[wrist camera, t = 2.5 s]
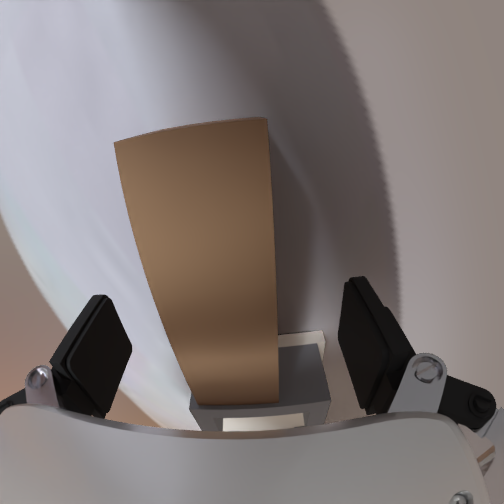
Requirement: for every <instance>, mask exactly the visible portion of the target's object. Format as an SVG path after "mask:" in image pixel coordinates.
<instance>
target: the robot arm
mask: <svg viewBox="0 0 504 504" xmlns="http://www.w3.org/2000/svg"><path fill="white" fill-rule="evenodd" d="M338 341H339V344H340V347H341V350H342V353H343V356H344V359H345V362H346V365H347V368H348V371H349V374H350V377H351V380H352V383H353V386H354V390H355V393H356V396H357V399H358V402H359V406H360V408H361V409H364V408H365V411H366V414H367V415H371V414H374V413H376V415H373V416H368V417H362V418H356V419H351V420H346V421H340V422H334V423H328V424H321V425H314V426H306V427H298V428H288V429H277V430H263V431H192V430H177V429H166V428H157V427H149V426H142V425H134V424H128V423H122V422H117V421H111V420H107V419H105V416H106V413H108V412H109V411H110V408H111V406H112V403H113V400H114V397H115V394H116V392H117V389H118V386H119V384H120V381H121V378H122V376H123V373H124V371H125V368H126V365H127V363H128V360H129V358H130V355H131V353H132V344H131V342H130V340H129V338H128V336H127V334H126V332H125V330H124V327H123V325H122V323H121V321H120V318H119V316H118V314H117V312H116V309H115V307H114V304H113V302H112V300H111V299H110V298H108V296H107V295H93V296H92V298H91V299H90V300H89V302H88V303H87V305H86V306H85V307H84V309H83V310H82V312H81V313H80V315H79V316H78V317H77V319H76V320H75V322H74V323H73V325H72V326H71V328H70V329H69V331H68V332H67V334H66V336H65V337H64V339H63V340H62V342H61V343H60V345H59V346H58V348H57V350H56V351H55V353H54V355H53V356H52V358H51V359H50V361H49V362H50V363H51V365H52V366H53V367H52V369H50V368H49V367H48V366H45V365H40V366H37V367H35V368H34V369H32V370H31V371H30V372H29V374H28V375H27V377H26V379H25V388H24V389H22V390H21V391H19V392H17V393H15V394H13V395H11V396H9V397H8V398H6V399H4V400H2V401H1V402H0V504H502V503H503V502H504V409H503V408H502V407H501V408H500V409H499V410H498V409H497V408H496V402H495V399H494V397H493V395H492V394H491V393H490V392H489V391H487V390H486V389H483V388H481V387H478V386H475V385H472V384H470V383H467V382H464V381H461V380H458V379H456V378H453V377H451V376H448V375H447V368H446V365H445V364H444V362H443V361H442V360H441V359H440V358H439V357H437V356H435V355H433V354H429V353H420V354H417V355H416V353H415V352H414V350H413V348H412V347H411V345H410V343H409V341H408V339H407V338H406V336H405V334H404V332H403V331H402V329H401V327H400V326H399V324H398V322H397V321H396V319H395V318H394V316H393V314H392V313H391V311H390V310H389V308H388V307H384V306H383V304H382V302H381V301H380V299H379V298H378V296H377V294H376V293H375V291H374V290H373V288H372V287H371V285H370V284H369V282H368V280H367V279H366V278H365V276H361V277H352V278H350V279H349V282H345V284H344V292H343V301H342V308H341V316H340V323H339V330H338ZM91 415H93V416H94V417H93V416H91Z"/></svg>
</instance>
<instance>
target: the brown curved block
mask: <svg viewBox="0 0 504 504" xmlns="http://www.w3.org/2000/svg"><path fill="white" fill-rule="evenodd" d="M114 147H115V153H116V159H117V164H118V170H119V175H120V180H121V184H122V189H123V194H124V198H125V202H126V207H127V211H128V215H129V219H130V223H131V227H132V231H133V234H134V238H135V242H136V245H137V249H138V252H139V255H140V259H141V262H142V265H143V269H144V272H145V275H146V278H147V281H148V284H149V287H150V290H151V293H152V296H153V299H154V302H155V305H156V307H157V310H158V313H159V316H160V318H161V321H162V324H163V326H164V329H165V331H166V334H167V337H168V339H169V342H170V344H171V346H172V349H173V351H174V354H175V356H176V358H177V361H178V363H179V365H180V368H181V370H182V372H183V374H184V377H185V379H186V381H187V383H188V385H189V388H190V390H191V392H192V394H193V396H194V398H195V400H196V402H197V404H198V405H252V404H268V403H279V368H278V323H277V291H276V265H275V242H274V221H273V202H272V185H271V169H270V153H269V139H268V125H267V119H266V118H261V117H253V118H240V119H230V120H221V121H212V122H205V123H198V124H191V125H185V126H179V127H173V128H167V129H162V130H158V131H154V132H150V133H146V134H142V135H138V136H135V137H131V138H127V139H124V140H120V141H117V142H114Z"/></svg>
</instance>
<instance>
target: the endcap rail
mask: <svg viewBox="0 0 504 504" xmlns="http://www.w3.org/2000/svg"><path fill="white" fill-rule="evenodd" d="M324 349H325V339H324V335H323V332H322V330H320V331H312V332H304V333H295V334H285V335H278V368H279V403H268V404H252V405H198V404H197V402H196V400H195V398H194V396H193V394H192V392H191V399H190V406H189V410H190V412H191V413H192V415H193V417H194V418H195V420H196V422H197V423H198V425H199V427H200V428H201V430H202V431H263V430H277V429H288V428H298V427H306V426H314V425H321V424H324V422H325V419H326V416H327V413H328V409H329V406H330V402H331V397H330V393H329V389H328V384H327V380H326V376H325V372H324V368H323V364H322V362H323V355H324Z"/></svg>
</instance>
